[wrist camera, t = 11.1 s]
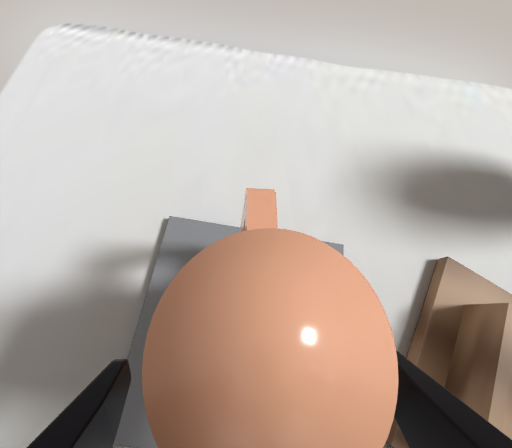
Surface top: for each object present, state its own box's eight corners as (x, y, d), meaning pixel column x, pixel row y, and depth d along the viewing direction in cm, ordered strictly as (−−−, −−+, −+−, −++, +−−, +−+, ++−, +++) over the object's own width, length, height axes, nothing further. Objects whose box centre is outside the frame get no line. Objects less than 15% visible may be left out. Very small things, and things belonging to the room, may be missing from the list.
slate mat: (340, 465, 14) (344, 470, 14) (106, 439, 14) (102, 443, 13) (340, 246, 20) (343, 244, 19) (171, 218, 19) (169, 216, 18)
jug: (294, 379, 15) (427, 508, 5) (193, 384, 15) (116, 543, 4) (286, 245, 19) (358, 161, 8) (203, 244, 18) (171, 149, 8)
